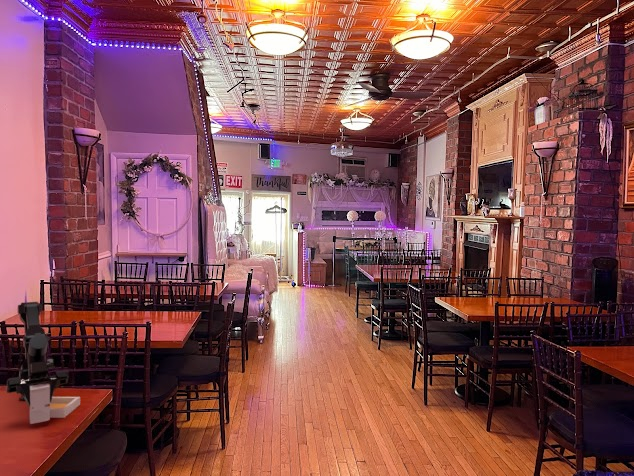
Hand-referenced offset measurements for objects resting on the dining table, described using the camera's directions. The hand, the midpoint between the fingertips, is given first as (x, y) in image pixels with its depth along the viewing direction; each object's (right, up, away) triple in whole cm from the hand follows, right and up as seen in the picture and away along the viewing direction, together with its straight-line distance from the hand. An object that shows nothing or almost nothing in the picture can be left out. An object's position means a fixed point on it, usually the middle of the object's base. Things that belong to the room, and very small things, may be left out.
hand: (40, 403), depth 162 cm
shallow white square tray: (-2, -8, +14) cm, 16 cm away
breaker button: (-2, -8, +14) cm, 16 cm away
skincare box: (-1, -7, +2) cm, 7 cm away
